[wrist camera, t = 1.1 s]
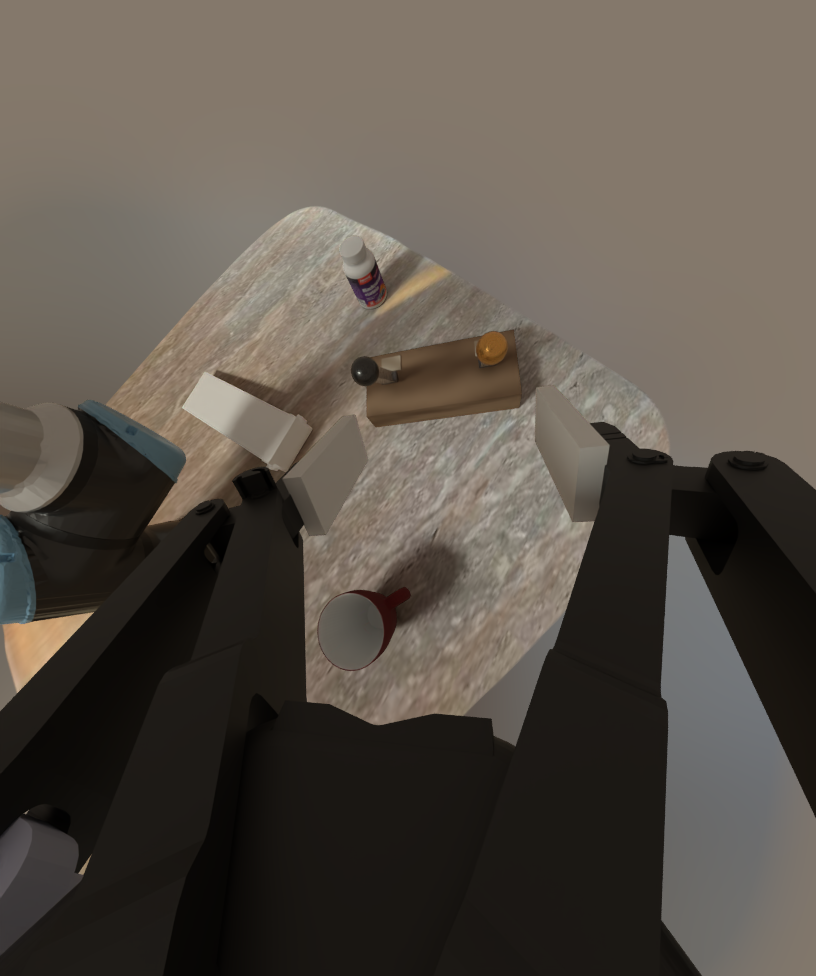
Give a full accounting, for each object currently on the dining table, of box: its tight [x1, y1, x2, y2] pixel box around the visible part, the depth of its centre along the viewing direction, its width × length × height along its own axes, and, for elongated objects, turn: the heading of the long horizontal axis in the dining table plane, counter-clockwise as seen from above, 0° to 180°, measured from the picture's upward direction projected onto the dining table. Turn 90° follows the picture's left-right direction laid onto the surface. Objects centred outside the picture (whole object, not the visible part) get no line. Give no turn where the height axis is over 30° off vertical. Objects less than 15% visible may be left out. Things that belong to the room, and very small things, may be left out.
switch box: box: [367, 330, 522, 427], centre depth 46 cm, size 10×22×4 cm, turn 92°
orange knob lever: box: [476, 331, 508, 369], centre depth 36 cm, size 3×3×13 cm
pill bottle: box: [339, 235, 387, 309], centre depth 51 cm, size 5×5×10 cm
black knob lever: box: [351, 356, 399, 386], centre depth 40 cm, size 3×3×13 cm
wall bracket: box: [182, 372, 312, 472], centre depth 56 cm, size 10×7×28 cm
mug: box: [318, 587, 411, 671], centre depth 38 cm, size 10×8×10 cm
